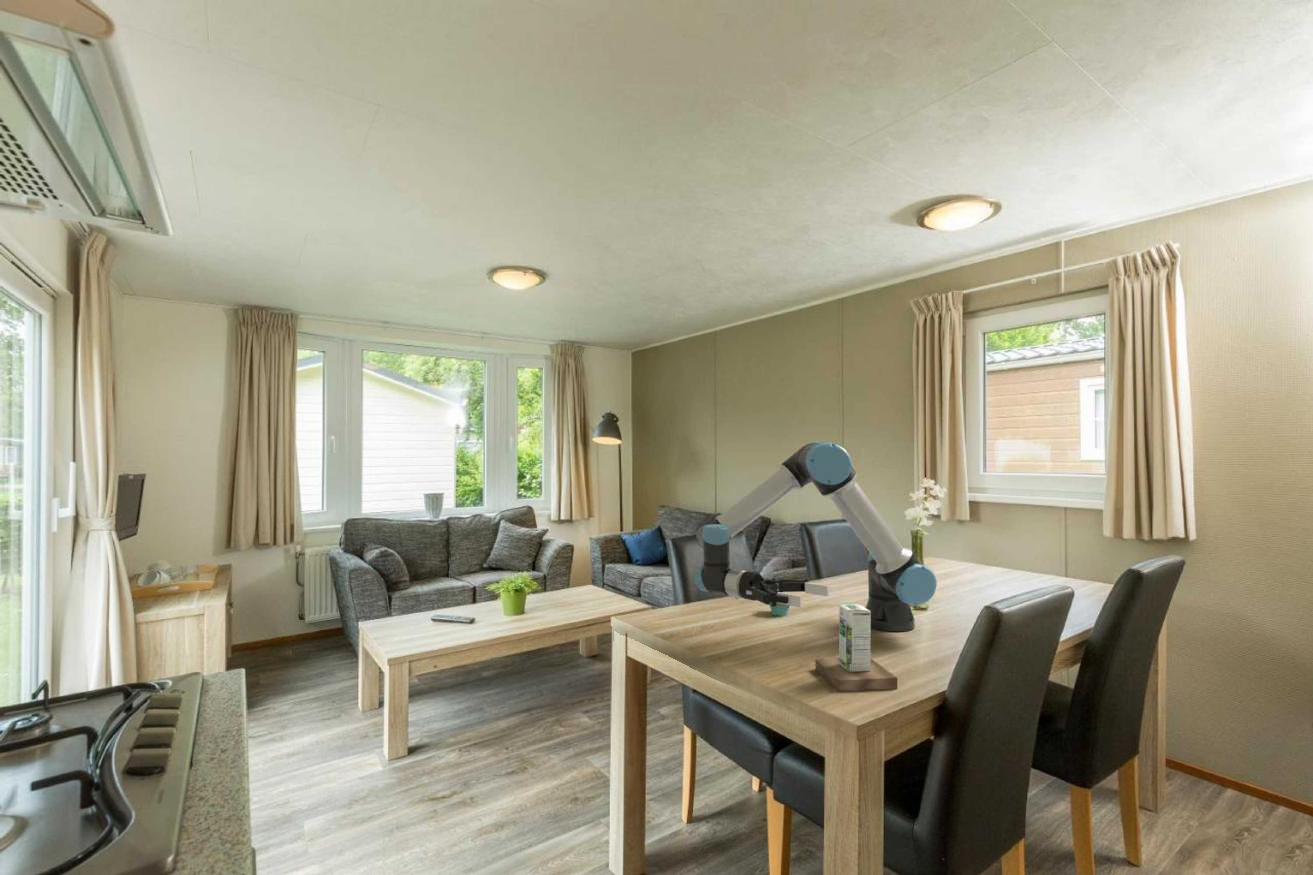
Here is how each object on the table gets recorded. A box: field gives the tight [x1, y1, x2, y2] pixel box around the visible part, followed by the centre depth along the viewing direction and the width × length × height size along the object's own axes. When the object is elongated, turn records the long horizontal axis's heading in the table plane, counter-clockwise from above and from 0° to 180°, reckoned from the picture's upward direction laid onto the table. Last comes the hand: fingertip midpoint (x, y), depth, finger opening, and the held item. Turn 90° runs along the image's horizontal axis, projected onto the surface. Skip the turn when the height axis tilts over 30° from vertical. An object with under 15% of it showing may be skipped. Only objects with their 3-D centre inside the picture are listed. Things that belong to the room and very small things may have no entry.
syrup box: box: [838, 603, 872, 672], centre depth 145 cm, size 6×6×14 cm
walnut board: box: [815, 657, 898, 692], centre depth 145 cm, size 14×14×2 cm
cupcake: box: [768, 589, 790, 617], centre depth 201 cm, size 9×8×12 cm
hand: (815, 596), depth 152 cm, fingers open, 13 cm apart
